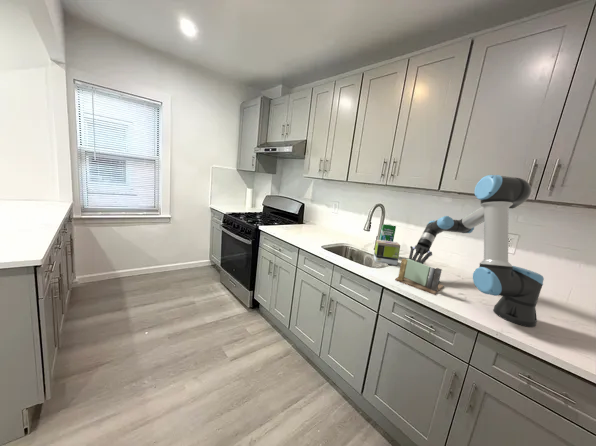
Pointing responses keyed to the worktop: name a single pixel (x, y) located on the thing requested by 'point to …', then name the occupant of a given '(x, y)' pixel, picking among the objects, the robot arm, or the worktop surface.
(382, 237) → the milk carton
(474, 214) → the robot arm
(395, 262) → the tea box
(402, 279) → the wooden stand
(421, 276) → the gate
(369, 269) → the worktop surface
